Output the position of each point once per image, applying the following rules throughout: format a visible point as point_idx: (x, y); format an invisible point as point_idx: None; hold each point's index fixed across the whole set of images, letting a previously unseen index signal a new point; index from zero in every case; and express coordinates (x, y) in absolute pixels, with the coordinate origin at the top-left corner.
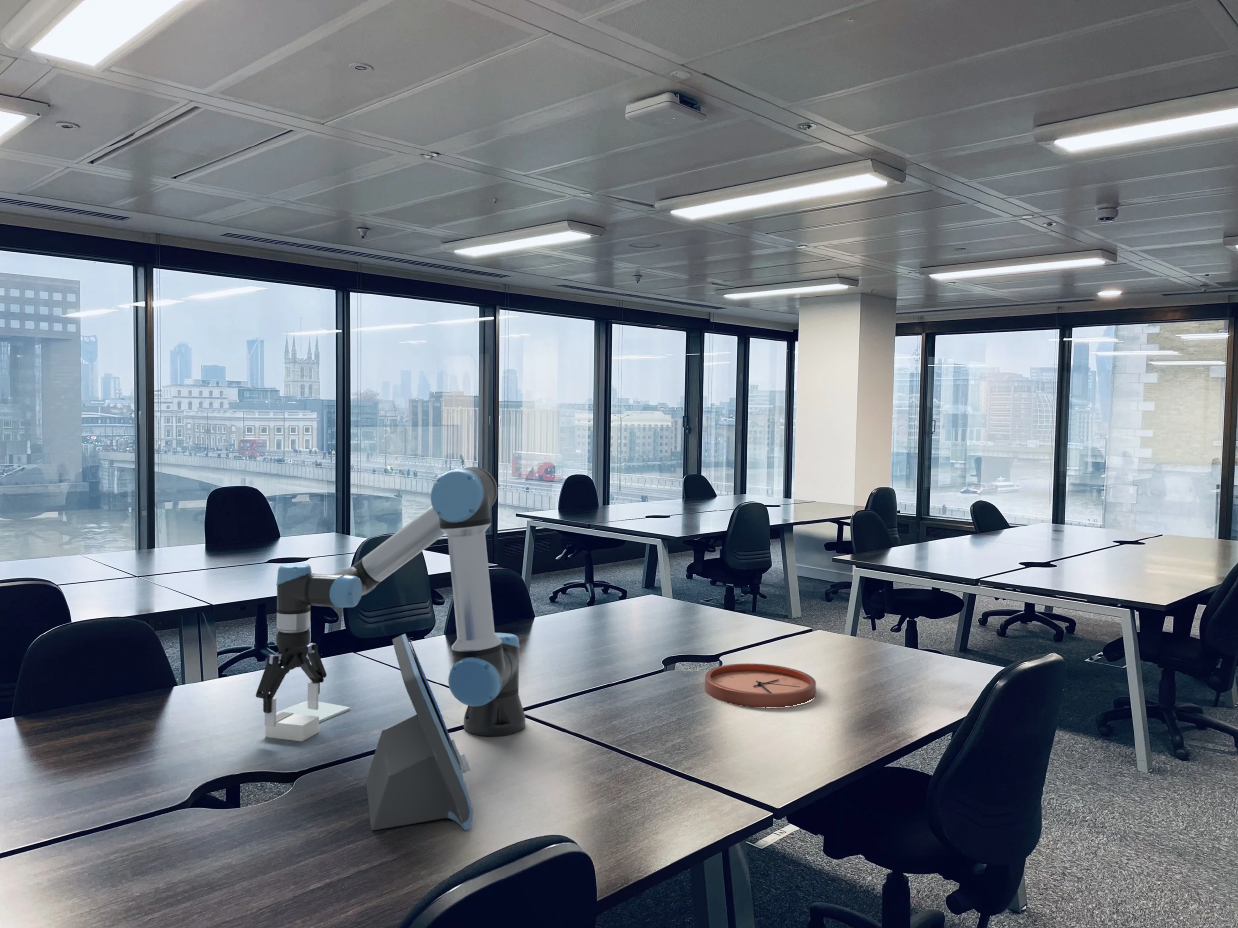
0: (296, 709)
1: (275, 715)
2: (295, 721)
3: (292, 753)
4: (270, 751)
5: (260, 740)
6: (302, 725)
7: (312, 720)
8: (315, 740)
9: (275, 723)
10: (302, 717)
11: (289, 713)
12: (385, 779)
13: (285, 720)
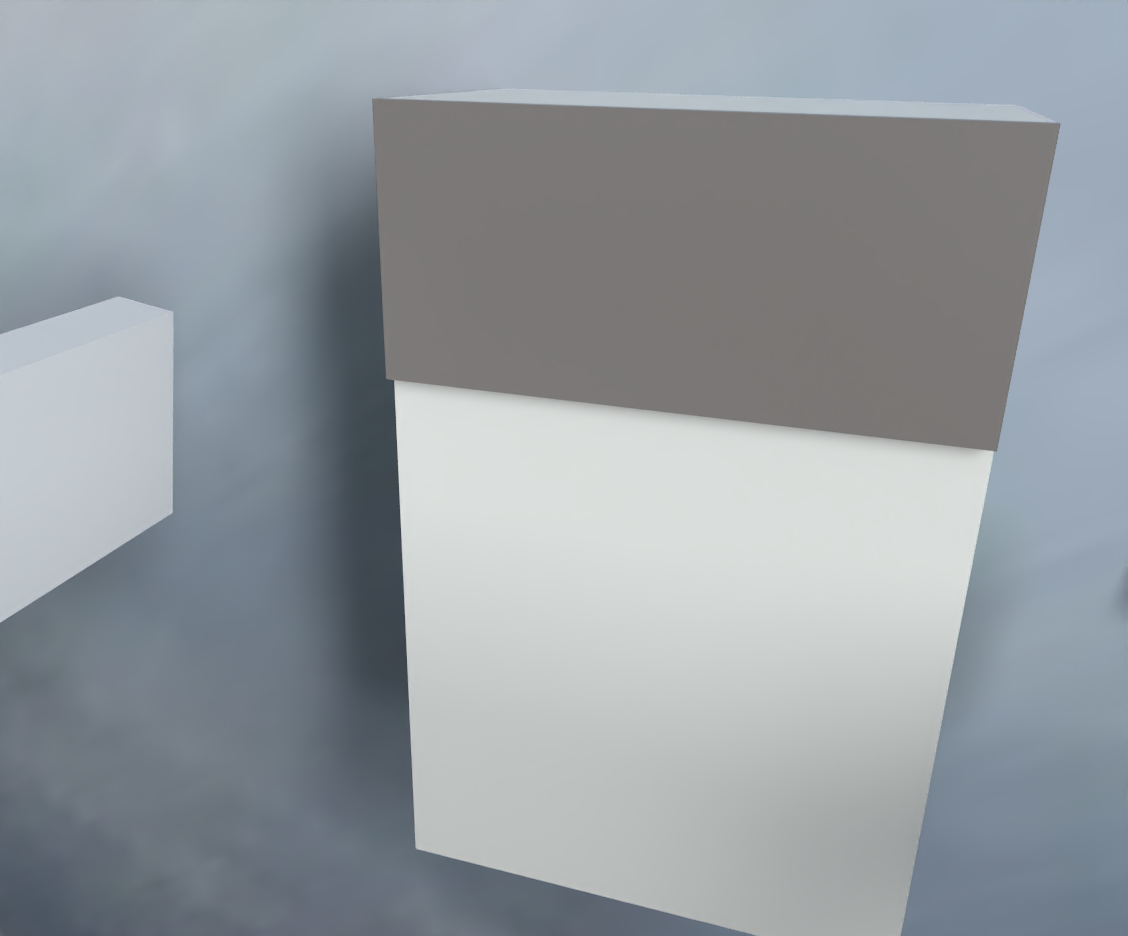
0: None
1: (10, 601)
2: (553, 677)
3: (171, 732)
4: None
5: (347, 120)
6: (418, 845)
7: (693, 910)
8: None
9: (131, 527)
10: (796, 714)
11: (956, 370)
12: None
13: (552, 479)
